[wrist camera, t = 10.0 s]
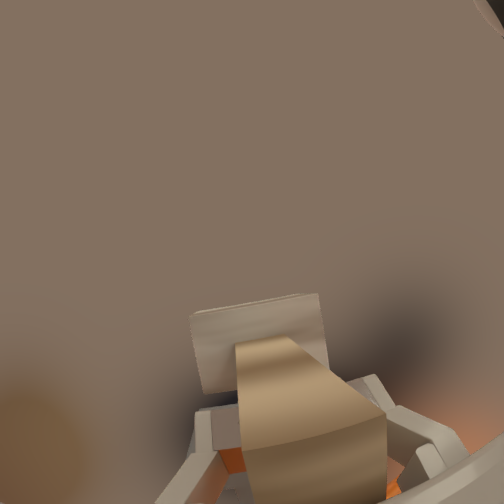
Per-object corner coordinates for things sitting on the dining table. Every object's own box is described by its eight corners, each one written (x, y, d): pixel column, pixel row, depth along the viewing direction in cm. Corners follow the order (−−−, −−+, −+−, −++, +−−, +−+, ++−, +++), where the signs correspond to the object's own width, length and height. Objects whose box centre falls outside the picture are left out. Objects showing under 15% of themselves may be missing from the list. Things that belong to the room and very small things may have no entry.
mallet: (209, 373, 22) (197, 311, 23) (310, 354, 23) (300, 293, 23) (164, 545, 4) (94, 370, 5) (462, 466, 5) (466, 293, 6)
